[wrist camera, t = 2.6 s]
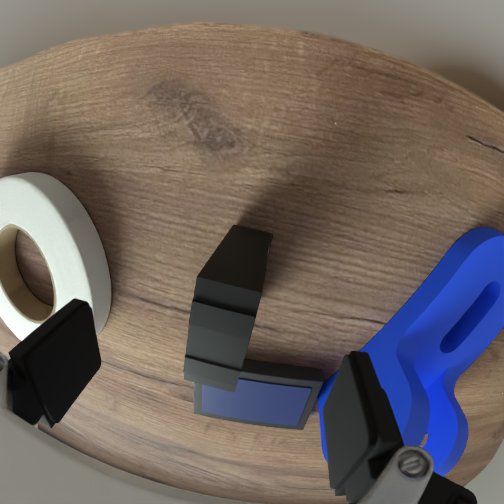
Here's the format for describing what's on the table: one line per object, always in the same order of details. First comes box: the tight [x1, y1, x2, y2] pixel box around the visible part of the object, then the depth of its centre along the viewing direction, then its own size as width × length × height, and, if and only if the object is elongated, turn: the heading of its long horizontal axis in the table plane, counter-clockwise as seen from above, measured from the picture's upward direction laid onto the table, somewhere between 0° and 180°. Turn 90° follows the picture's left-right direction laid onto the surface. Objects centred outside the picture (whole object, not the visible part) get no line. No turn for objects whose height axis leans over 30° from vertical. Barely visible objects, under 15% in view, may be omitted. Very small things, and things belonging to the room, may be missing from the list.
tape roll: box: [0, 172, 111, 341], centre depth 18 cm, size 16×15×3 cm
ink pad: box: [194, 359, 324, 430], centre depth 20 cm, size 9×6×2 cm, turn 83°
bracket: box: [318, 227, 504, 476], centre depth 13 cm, size 18×8×9 cm, turn 146°
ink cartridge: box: [183, 225, 273, 393], centre depth 14 cm, size 5×2×8 cm, turn 168°
